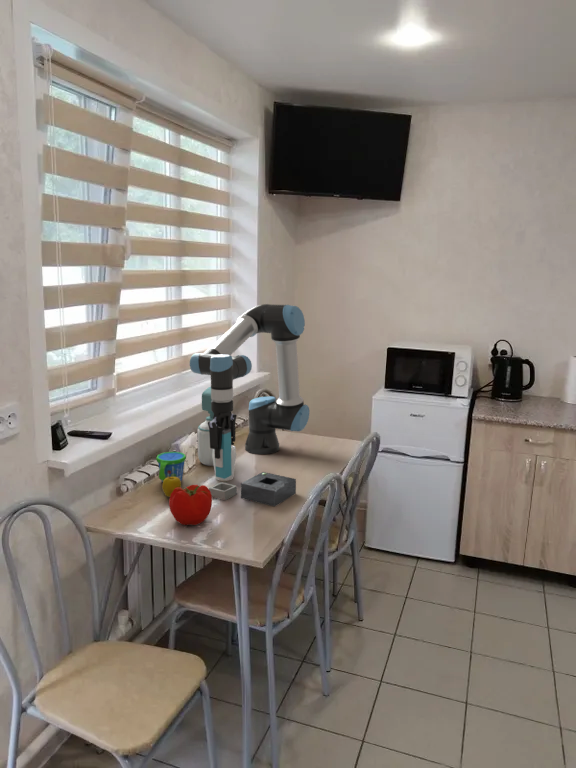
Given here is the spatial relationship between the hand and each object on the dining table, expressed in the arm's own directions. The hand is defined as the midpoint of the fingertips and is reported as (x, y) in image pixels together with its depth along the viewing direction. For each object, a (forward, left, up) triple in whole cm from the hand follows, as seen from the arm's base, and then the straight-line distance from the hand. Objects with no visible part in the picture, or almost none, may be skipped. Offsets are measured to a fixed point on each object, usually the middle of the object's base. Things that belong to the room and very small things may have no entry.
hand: (223, 464), depth 213 cm
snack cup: (0, -24, -11) cm, 27 cm away
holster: (0, 0, -11) cm, 11 cm away
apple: (+11, -14, -11) cm, 21 cm away
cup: (-14, -10, -11) cm, 20 cm away
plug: (0, 0, -4) cm, 4 cm away
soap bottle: (-26, -25, -11) cm, 37 cm away
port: (-8, +14, -11) cm, 19 cm away
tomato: (+23, +5, -11) cm, 27 cm away
